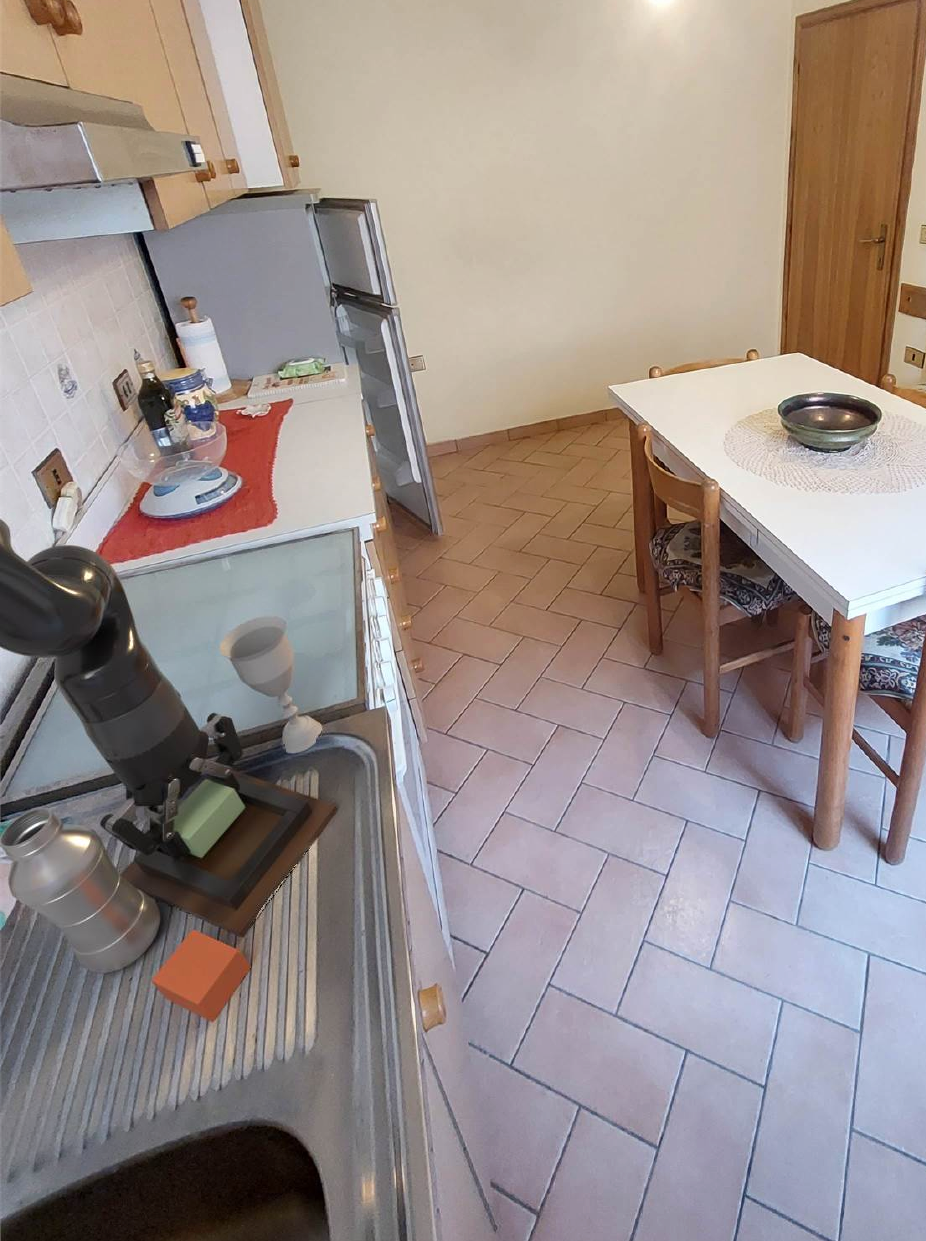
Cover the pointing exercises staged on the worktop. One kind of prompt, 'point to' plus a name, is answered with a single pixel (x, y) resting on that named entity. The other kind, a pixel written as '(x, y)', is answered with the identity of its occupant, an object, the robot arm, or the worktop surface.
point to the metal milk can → (79, 890)
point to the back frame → (237, 857)
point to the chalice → (270, 673)
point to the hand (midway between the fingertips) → (207, 823)
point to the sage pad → (207, 815)
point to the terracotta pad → (201, 975)
